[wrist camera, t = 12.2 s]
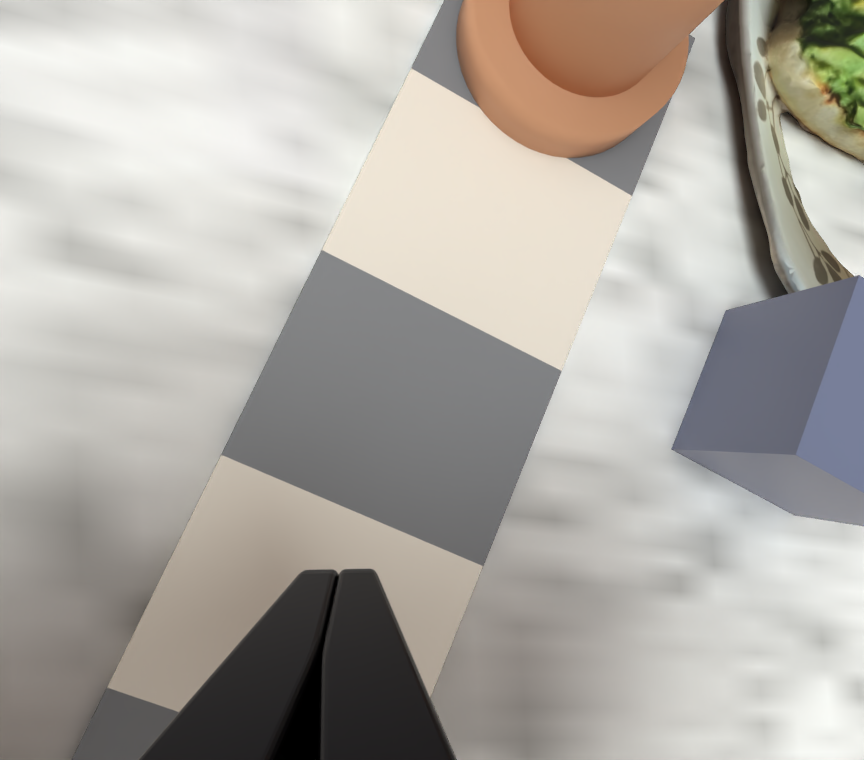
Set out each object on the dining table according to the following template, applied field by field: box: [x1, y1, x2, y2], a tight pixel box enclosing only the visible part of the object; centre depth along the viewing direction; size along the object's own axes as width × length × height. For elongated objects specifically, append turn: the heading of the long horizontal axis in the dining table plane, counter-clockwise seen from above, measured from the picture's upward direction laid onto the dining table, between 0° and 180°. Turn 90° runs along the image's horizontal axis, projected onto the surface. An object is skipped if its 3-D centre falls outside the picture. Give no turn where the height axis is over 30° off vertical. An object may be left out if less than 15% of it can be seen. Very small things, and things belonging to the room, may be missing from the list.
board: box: [72, 0, 695, 760], centre depth 16 cm, size 28×7×1 cm, turn 156°
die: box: [672, 275, 864, 526], centre depth 17 cm, size 4×5×5 cm
